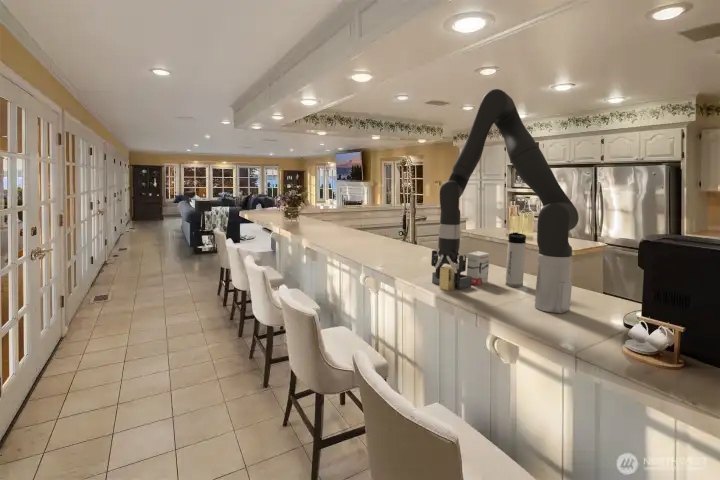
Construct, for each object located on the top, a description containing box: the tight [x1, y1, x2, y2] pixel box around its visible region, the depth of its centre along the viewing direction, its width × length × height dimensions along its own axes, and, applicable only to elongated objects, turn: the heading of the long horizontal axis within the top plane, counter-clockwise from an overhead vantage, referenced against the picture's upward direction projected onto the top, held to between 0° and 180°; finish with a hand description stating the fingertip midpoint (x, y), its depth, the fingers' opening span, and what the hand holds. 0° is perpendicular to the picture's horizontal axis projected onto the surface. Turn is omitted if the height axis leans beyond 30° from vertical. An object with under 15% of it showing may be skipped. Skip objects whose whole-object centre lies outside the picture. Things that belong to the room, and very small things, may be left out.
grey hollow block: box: [431, 271, 472, 291], centre depth 157 cm, size 13×7×4 cm, turn 40°
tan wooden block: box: [438, 265, 456, 292], centre depth 151 cm, size 4×4×8 cm
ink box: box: [466, 250, 491, 286], centre depth 161 cm, size 8×5×12 cm, turn 134°
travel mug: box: [505, 232, 527, 288], centre depth 157 cm, size 6×7×20 cm
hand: (447, 280), depth 151 cm, fingers open, 7 cm apart
